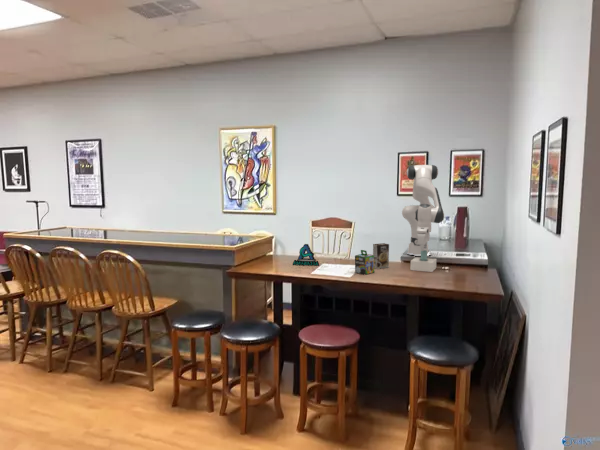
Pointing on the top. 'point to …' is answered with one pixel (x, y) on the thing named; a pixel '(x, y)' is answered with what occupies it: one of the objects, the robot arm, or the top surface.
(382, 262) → the coffee box
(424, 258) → the pin
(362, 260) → the chalk box
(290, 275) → the top surface
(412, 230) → the robot arm
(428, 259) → the hole block
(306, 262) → the decorative sign
